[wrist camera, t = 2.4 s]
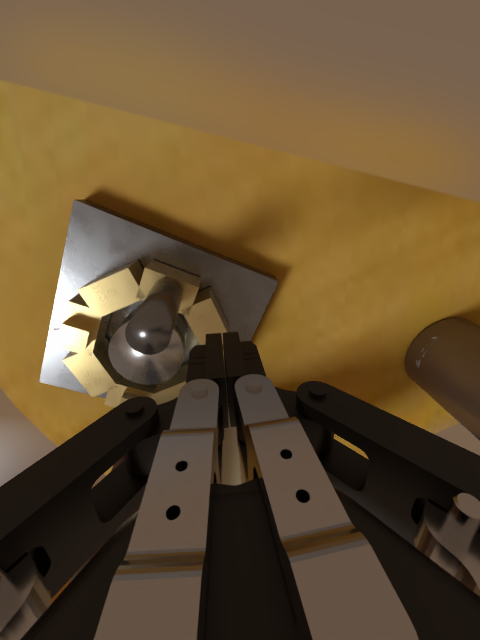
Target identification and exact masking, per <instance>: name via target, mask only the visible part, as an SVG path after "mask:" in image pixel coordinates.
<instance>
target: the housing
mask: <svg viewBox="0 0 480 640" xmlns="http://www.w3.org/2000/svg"><path fill="white" fill-rule="evenodd" d="M136 260H138V262H139V263H140V265H141V267H142V269H143V270H144V269H145V267H146V266H147V265H148V264H149V263H150V262H151V261H152V260H155V261H157V262H160V263H163V264H165V265H168V266H171V267H173V268H176V269H179V270H181V271H184V272H187V273H189V274H192V275H195V276H197V277H200V285H199V289H198V292H200V291H202V290H205V289H207V288H209V287H211V289H212V291H213V293H214V295H215V297H216V299H217V301H218V304H219V306H220V308H221V310H222V312H223V314H224V316H225V318H226V320H227V323H228V325H229V328H230V332H238V334H239V338H240V342H243V341H251V339H252V337H253V335H254V332H255V330H256V328H257V326H258V324H259V322H260V320H261V318H262V316H263V314H264V312H265V309H266V307H267V305H268V303H269V301H270V299H271V297H272V295H273V293H274V291H275V289H276V286H277V284H278V282H279V281H278V280H277V279H276V278H275V276H273V275H270V274H268V273H265V272H263V271H260V270H258V269H255V268H253V267H250V266H248V265H245V264H243V263H241V262H238V261H236V260H233V259H231V258H228V257H226V256H223V255H221V254H218V253H216V252H213V251H211V250H208V249H206V248H203V247H201V246H198V245H196V244H193V243H191V242H188V241H186V240H184V239H181V238H179V237H176V236H174V235H171V234H169V233H166V232H164V231H161V230H159V229H156V228H154V227H151V226H149V225H146V224H144V223H141V222H139V221H136V220H134V219H131V218H129V217H127V216H124V215H122V214H119V213H117V212H114V211H112V210H109V209H107V208H104V207H102V206H99V205H97V204H94V203H92V202H89V201H87V200H74V201H73V206H72V212H71V217H70V222H69V228H68V233H67V238H66V243H65V249H64V254H63V259H62V265H61V270H60V275H59V280H58V286H57V291H56V296H55V302H54V307H53V312H52V317H51V323H50V328H49V333H48V339H47V344H46V349H45V354H44V360H43V365H42V370H41V376H40V381H39V382H42V383H46V384H50V385H54V386H58V387H62V388H66V389H70V390H74V391H78V392H82V393H86V394H89V393H88V392H87V391H86V389H85V388H84V387H83V386H82V384H81V383H80V382H79V381H78V379H77V378H76V377H75V376H74V374H73V373H72V372H71V371H70V370H69V368H68V367H67V366H66V365H65V363H64V362H63V361H62V360H63V359H64V358H65V357H66V356H67V354H68V353H69V352H70V351H69V350H66V349H62V348H59V342H58V338H59V334H60V329H61V324H62V323H63V322H64V318H65V313H66V308H67V304H68V301H69V300H70V299H72V298H73V297H75V296H76V295H77V294H79V292H78V289H80V288H81V287H83V286H84V285H85V284H87V283H88V282H90V281H91V280H93V279H95V278H97V277H100V276H102V275H104V274H106V273H109V272H111V271H113V270H115V269H118V268H120V267H122V266H125V265H127V264H129V263H131V262H134V261H136ZM198 292H197V293H198ZM142 302H143V300H140V301H137V302H135V303H133V304H130V305H128V306H126V307H123V308H121V309H119V310H116V311H114V312H112V313H111V315H110V319H109V323H108V327H107V330H106V334H105V338H106V339H107V340H108V342H109V347H108V354H109V359H110V361H111V364H112V365H113V367H114V368H115V370H116V371H117V372H118V373H119V374H120V375H122V376H123V377H124V378H126V379H128V380H130V381H132V382H135V383H139V384H146V385H151V384H158V383H161V382H164V381H166V380H168V379H170V378H171V377H173V376H174V375H175V374H176V373H177V372H178V370H179V369H180V367H181V366H183V365H185V364H188V360H189V352H190V350H191V349H192V348H193V347H194V346H195V345H198V344H199V342H198V340H197V338H196V336H195V335H194V333H193V331H192V329H191V327H190V325H189V323H188V322H187V320H186V318H185V316H184V314H181V313H178V315H177V318H176V322H175V325H174V329H173V332H172V336H171V339H170V343H169V345H168V346H167V348H166V349H165V350H163V351H162V352H160V353H157V354H153V355H146V354H142V353H139V352H137V351H135V350H134V349H133V348H131V347H130V345H129V344H128V342H127V340H126V337H125V329H126V326H127V325H128V323H129V321H130V320H131V318H132V317H133V315H134V314H135V312H136V311H137V309H138V308H139V306H140V305H141V303H142ZM226 391H227V386H226ZM107 393H108V391H107V392H105V393H102V394H100V395H97V396H98V397H102V398H106V397H107Z"/></svg>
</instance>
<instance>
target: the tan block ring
mask: <svg viewBox="0 0 480 640" xmlns="http://www.w3.org/2000/svg"><path fill="white" fill-rule="evenodd" d="M199 285H200V277H197V276H195V275H192V274H189V273H187V272H184V271H181V270H179V269H176V268H173V267H171V266H168V265H165V264H163V263H160V262H157V261H155V260H152V261H151V262H150V263H149V264H148V265H147V266H146V267H145V269H144V270H143V269H142V267H141V265H140V263H139V262H138V260H136V261H134V262H131V263H129V264H127V265H125V266H122V267H120V268H118V269H115V270H113V271H111V272H109V273H106V274H104V275H102V276H100V277H97V278H95V279H93V280H91V281H90V282H88V283H87V284H85V285H84V286H83V287H81V288H80V289H78V292H79V294H77V295H76V296H75V297H73V298H72V299H70V300H69V301H68V304H67V308H66V313H65V318H64V322H63V323H62V324H61V329H60V334H59V338H58V342H59V348H62V349H66V350H69V351H70V352H69V353H68V354H67V356H66V357H65V358H64V359H63V360H62V361H63V362H64V363H65V365H66V366H67V367H68V368H69V370H70V371H71V372H72V373H73V374H74V376H75V377H76V378H77V379H78V381H79V382H80V383H81V384H82V386H83V387H84V388H85V389H86V391H87V392H88V393H89V394H90V395H91V397H95V396H97V395H100V394H102V393H105V392H107V391H108V393H107V397H106V400H105V403H104V405H107V406H111V407H117V406H118V405H120V404H121V403H123V402H124V401H126V400H128V399H131V398H135V397H149V398H152V399H154V400H155V401H156V403H157V405H159V404H162V403H166V402H168V401H171V400H173V399H175V398H177V397H178V395H179V392H180V389H181V388H182V386H183V385H185V384H186V377H187V368H188V364H185V365H183V366H181V367H180V369H179V370H178V372H177V373H176V374H175V375H174V376H173V377H171V378H170V379H168V380H166V381H164V382H161V383H158V384H151V385H146V384H139V383H135V382H132V381H130V380H128V379H126V378H124V377H123V376H122V375H120V374H119V373H118V372H117V371H116V370H115V368H114V367H113V365H112V364H111V361H110V359H109V354H108V347H109V342H108V340H107V339H106V338H105V334H106V330H107V327H108V323H109V319H110V315H111V313H112V312H114V311H116V310H119V309H121V308H123V307H126V306H128V305H130V304H133V303H135V302H137V301H140V300H143V302H142V303H141V305H140V306H139V308H138V309H137V311H136V312H135V314H134V315H133V317H132V318H131V320H130V321H129V323H128V325H127V326H126V329H125V337H126V340H127V342H128V344H129V345H130V347H131V348H133V349H134V350H135V351H137V352H139V353H142V354H146V355H153V354H157V353H160V352H162V351H163V350H165V349H166V348H167V346H168V345H169V343H170V339H171V336H172V332H173V329H174V325H175V322H176V318H177V315H178V313H181V314H184V316H185V318H186V320H187V322H188V323H189V325H190V327H191V329H192V331H193V333H194V335H195V336H196V338H197V340H198V342H199V344H198V345H205V343H206V334H213V333H221V336H222V346H223V333H225V332H230V328H229V325H228V323H227V320H226V318H225V316H224V314H223V312H222V310H221V308H220V306H219V304H218V301H217V299H216V297H215V295H214V293H213V291H212V289H211V287H209V288H207V289H205V290H202V291H200V292H198V289H199ZM197 292H198V293H197ZM223 356H224V349H223ZM224 366H225V364H224Z"/></svg>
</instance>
